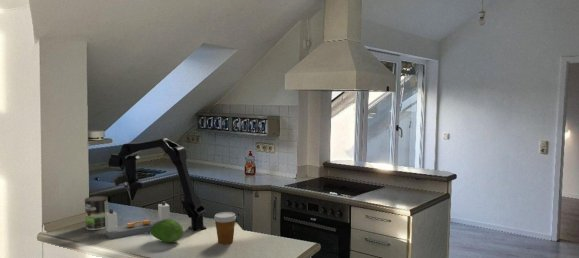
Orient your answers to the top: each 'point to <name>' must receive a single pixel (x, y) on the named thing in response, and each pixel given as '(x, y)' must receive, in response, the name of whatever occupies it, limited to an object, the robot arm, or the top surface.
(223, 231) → the disposable coffee cup
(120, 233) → the grey board
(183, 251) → the top surface
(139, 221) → the orange dumbbell
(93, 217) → the coffee can
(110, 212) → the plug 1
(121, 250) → the top surface
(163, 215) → the plug
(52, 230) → the top surface
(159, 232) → the fruit
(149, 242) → the top surface
